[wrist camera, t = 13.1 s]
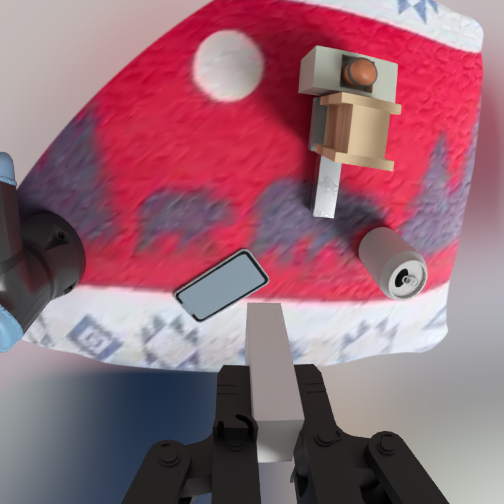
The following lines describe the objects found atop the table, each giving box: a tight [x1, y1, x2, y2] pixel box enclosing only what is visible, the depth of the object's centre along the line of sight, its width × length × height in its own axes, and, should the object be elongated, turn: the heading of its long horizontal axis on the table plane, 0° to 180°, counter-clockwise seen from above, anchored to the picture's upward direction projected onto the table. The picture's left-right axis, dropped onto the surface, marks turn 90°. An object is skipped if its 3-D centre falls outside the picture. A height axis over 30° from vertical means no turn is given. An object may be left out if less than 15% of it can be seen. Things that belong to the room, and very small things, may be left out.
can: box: [359, 227, 427, 301], centre depth 45 cm, size 8×8×12 cm
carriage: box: [308, 92, 401, 171], centre depth 35 cm, size 7×7×14 cm
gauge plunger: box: [340, 57, 378, 87], centre depth 31 cm, size 3×3×4 cm
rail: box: [309, 153, 342, 218], centre depth 43 cm, size 3×17×3 cm, turn 176°
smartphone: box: [174, 249, 269, 323], centre depth 52 cm, size 7×1×15 cm
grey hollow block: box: [298, 46, 398, 103], centre depth 35 cm, size 10×5×10 cm, turn 85°
